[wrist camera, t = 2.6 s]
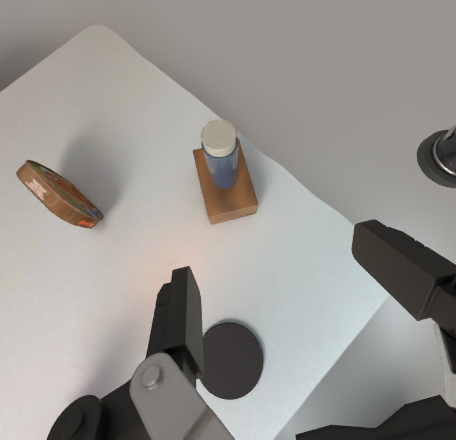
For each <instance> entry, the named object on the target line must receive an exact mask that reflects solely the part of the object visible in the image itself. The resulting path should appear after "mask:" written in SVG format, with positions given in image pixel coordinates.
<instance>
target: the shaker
mask: <svg viewBox="0 0 456 440" xmlns="http://www.w3.org/2000/svg"><path fill="white" fill-rule="evenodd" d="M201 139H202V149H203V153H204V156H205V160H206V164H207V168H208V171H209V175H210V179H211V181H212V183H213V184H214V185H215V186H216V187H218V188H221V189H227V188H230V187H232V186H233V185H234V184H235V183H236V181H237V178H238V138H237V136H236V130H235V128H234V126H233V125H232V124H231V123H230V122H228V121H225V120H214V121H211V122H209V123H208V124H206V125H205V127H204V128H203V130H202V133H201Z"/></svg>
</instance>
